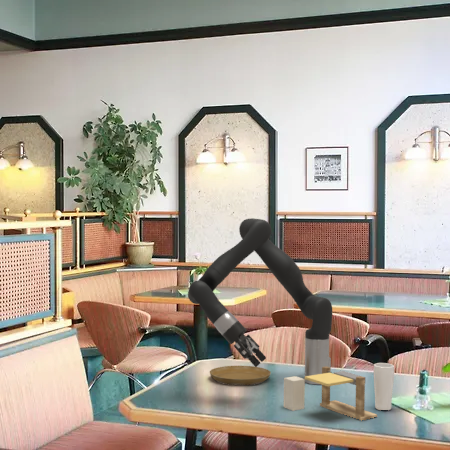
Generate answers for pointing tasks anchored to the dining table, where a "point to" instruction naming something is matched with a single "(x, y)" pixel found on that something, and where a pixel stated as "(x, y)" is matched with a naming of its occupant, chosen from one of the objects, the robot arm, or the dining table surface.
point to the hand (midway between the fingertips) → (261, 362)
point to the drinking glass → (383, 385)
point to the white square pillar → (294, 393)
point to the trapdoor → (333, 378)
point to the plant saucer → (240, 375)
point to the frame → (344, 408)
